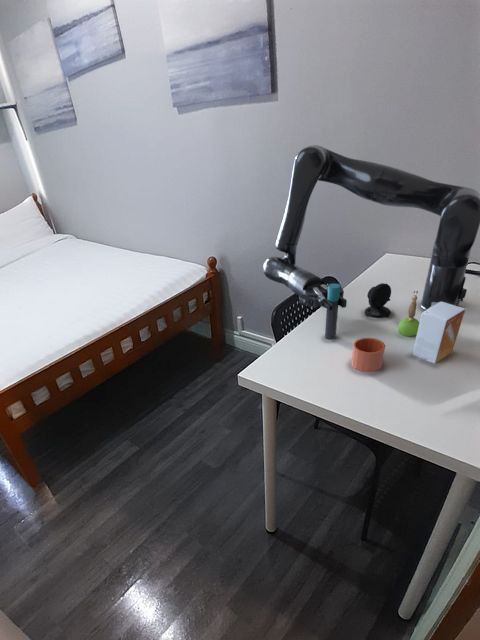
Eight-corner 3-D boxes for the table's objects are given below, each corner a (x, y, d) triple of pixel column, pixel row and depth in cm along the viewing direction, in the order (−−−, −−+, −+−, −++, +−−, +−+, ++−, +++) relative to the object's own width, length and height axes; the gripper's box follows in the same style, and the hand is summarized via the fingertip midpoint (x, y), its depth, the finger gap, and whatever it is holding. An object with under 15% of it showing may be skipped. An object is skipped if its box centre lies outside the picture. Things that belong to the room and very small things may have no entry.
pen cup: (369, 355, 109) (372, 334, 106) (388, 369, 104) (392, 347, 100) (345, 363, 108) (347, 342, 104) (363, 377, 102) (366, 356, 98)
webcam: (377, 306, 130) (381, 276, 124) (396, 314, 124) (401, 284, 118) (358, 313, 128) (362, 284, 122) (377, 322, 122) (381, 292, 116)
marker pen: (331, 333, 119) (335, 282, 110) (337, 337, 117) (342, 286, 108) (322, 336, 119) (326, 285, 109) (328, 340, 117) (332, 289, 107)
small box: (434, 366, 102) (446, 320, 94) (411, 356, 106) (420, 312, 99) (453, 353, 105) (466, 308, 97) (429, 344, 110) (440, 300, 102)
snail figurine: (418, 329, 116) (427, 291, 109) (418, 341, 111) (427, 301, 104) (397, 328, 118) (404, 290, 111) (396, 339, 114) (403, 300, 106)
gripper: (284, 278, 119) (317, 300, 106) (326, 266, 122) (363, 286, 108) (284, 301, 124) (315, 325, 110) (324, 290, 126) (360, 311, 113)
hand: (339, 306), depth 109 cm, fingers closed on marker pen, 3 cm apart
